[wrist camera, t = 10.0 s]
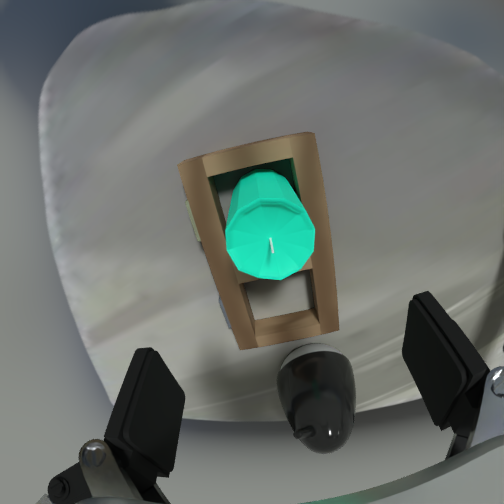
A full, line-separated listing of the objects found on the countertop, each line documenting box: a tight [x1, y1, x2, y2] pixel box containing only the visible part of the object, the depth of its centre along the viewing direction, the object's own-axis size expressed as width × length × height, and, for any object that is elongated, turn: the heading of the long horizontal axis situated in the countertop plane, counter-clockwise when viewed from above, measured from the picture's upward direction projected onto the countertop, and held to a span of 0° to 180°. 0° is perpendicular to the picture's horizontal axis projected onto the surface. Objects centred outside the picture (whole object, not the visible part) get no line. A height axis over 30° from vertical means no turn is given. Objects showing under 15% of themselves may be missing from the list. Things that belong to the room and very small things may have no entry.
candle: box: [225, 169, 315, 280], centre depth 22 cm, size 6×6×12 cm
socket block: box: [177, 132, 339, 350], centre depth 29 cm, size 12×22×3 cm, turn 13°
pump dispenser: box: [277, 343, 356, 454], centre depth 31 cm, size 10×10×15 cm
